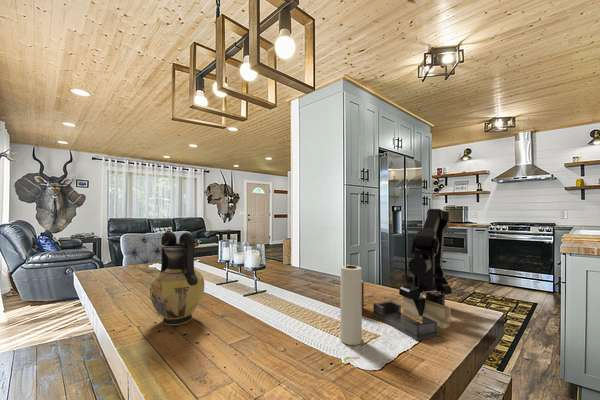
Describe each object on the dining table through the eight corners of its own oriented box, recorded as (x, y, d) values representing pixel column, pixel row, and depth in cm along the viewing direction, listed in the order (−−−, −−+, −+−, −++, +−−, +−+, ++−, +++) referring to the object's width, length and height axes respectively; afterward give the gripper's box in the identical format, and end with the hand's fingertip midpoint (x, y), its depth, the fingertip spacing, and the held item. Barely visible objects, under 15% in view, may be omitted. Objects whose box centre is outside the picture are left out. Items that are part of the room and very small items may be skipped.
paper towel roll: (357, 348, 78) (357, 269, 78) (337, 342, 81) (337, 267, 81) (365, 337, 84) (365, 265, 84) (346, 333, 87) (347, 263, 88)
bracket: (391, 311, 106) (391, 300, 106) (440, 336, 85) (439, 322, 85) (371, 314, 103) (371, 303, 103) (416, 340, 82) (416, 327, 82)
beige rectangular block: (410, 310, 107) (410, 294, 107) (451, 326, 93) (450, 307, 93) (403, 312, 105) (403, 296, 105) (443, 328, 91) (443, 309, 91)
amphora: (136, 326, 91) (138, 232, 92) (175, 308, 107) (177, 229, 108) (179, 335, 85) (181, 234, 86) (214, 315, 101) (216, 230, 101)
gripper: (427, 264, 110) (428, 304, 110) (388, 267, 103) (388, 310, 103) (452, 270, 100) (453, 314, 99) (410, 274, 93) (411, 322, 93)
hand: (425, 315), depth 99 cm, fingers closed on beige rectangular block, 4 cm apart
